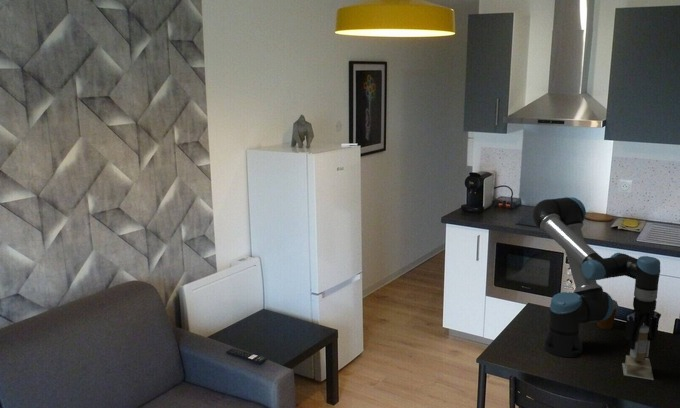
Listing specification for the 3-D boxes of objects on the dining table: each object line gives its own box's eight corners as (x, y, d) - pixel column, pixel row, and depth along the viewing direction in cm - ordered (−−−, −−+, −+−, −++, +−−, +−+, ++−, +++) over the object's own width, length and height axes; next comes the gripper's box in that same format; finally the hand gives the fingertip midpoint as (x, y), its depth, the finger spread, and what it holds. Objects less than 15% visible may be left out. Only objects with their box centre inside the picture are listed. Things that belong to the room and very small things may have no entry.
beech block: (626, 374, 215) (627, 364, 214) (625, 364, 223) (626, 355, 222) (650, 378, 212) (651, 368, 211) (648, 368, 220) (649, 358, 219)
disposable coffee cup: (620, 330, 254) (622, 305, 251) (598, 330, 254) (600, 305, 251) (610, 321, 263) (612, 297, 260) (589, 322, 263) (591, 297, 260)
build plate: (623, 376, 215) (623, 375, 215) (621, 364, 224) (622, 362, 224) (653, 381, 211) (653, 379, 211) (650, 369, 220) (650, 367, 220)
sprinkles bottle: (632, 354, 219) (635, 322, 216) (645, 357, 217) (648, 324, 214) (632, 360, 215) (635, 327, 212) (645, 362, 213) (649, 329, 210)
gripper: (631, 304, 206) (625, 363, 211) (673, 299, 209) (666, 358, 214) (617, 296, 213) (612, 353, 218) (658, 292, 216) (651, 349, 221)
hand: (638, 355), depth 216 cm, fingers closed on sprinkles bottle, 4 cm apart
